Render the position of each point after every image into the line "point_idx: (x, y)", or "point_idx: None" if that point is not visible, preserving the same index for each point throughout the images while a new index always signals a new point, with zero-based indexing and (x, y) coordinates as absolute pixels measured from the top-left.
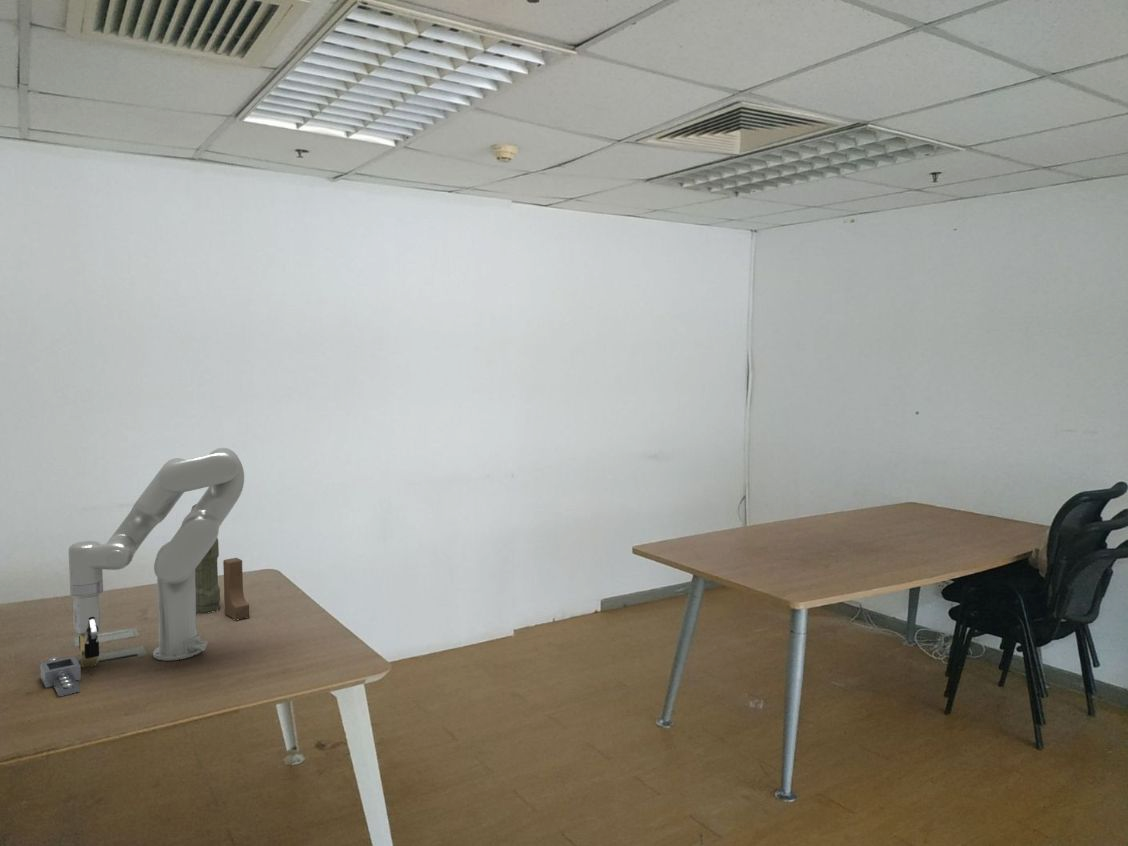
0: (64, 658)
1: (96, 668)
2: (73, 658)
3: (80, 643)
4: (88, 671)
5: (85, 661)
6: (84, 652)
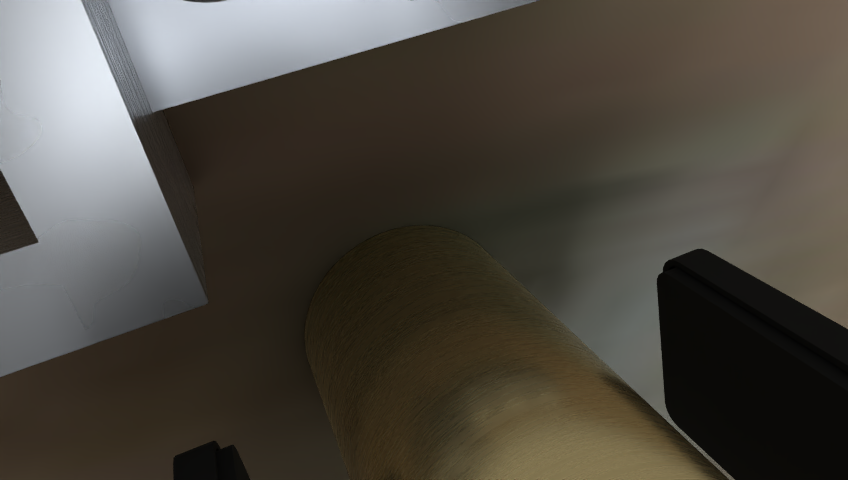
0: (110, 96)
1: (201, 439)
2: (35, 312)
3: (556, 466)
4: (104, 372)
5: (333, 341)
6: (381, 427)
